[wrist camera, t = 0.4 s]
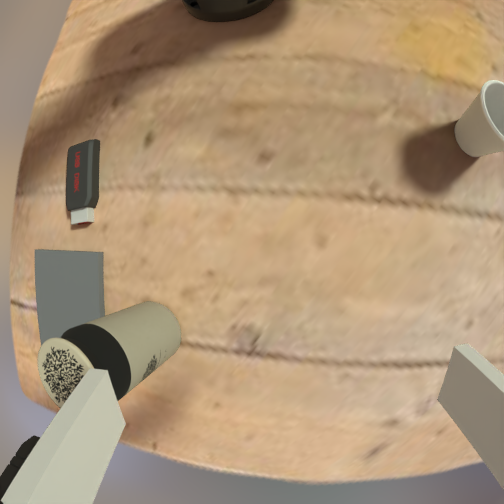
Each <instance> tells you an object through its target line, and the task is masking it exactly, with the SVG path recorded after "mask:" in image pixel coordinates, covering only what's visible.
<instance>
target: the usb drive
mask: <svg viewBox="0 0 504 504" xmlns="http://www.w3.org/2000/svg"><path fill="white" fill-rule="evenodd" d="M99 153H100V141H99V140H97V139H94V140H88V141H85V142H82V143H80V144H77V145H74V146H71V147H70V148H69V150H68V157H67V177H66V205H67V209H68V211H71V224H73V225H79V224H84V223H90V222H94V208H95V207H96V205H97V202H98V199H99Z"/></svg>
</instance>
